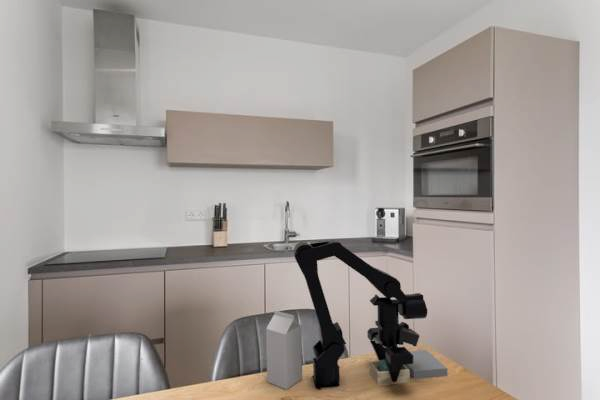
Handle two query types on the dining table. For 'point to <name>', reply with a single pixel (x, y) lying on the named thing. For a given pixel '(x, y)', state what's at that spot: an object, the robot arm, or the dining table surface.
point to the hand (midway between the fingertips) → (388, 374)
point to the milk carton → (284, 350)
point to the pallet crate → (387, 374)
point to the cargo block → (382, 366)
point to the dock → (425, 365)
